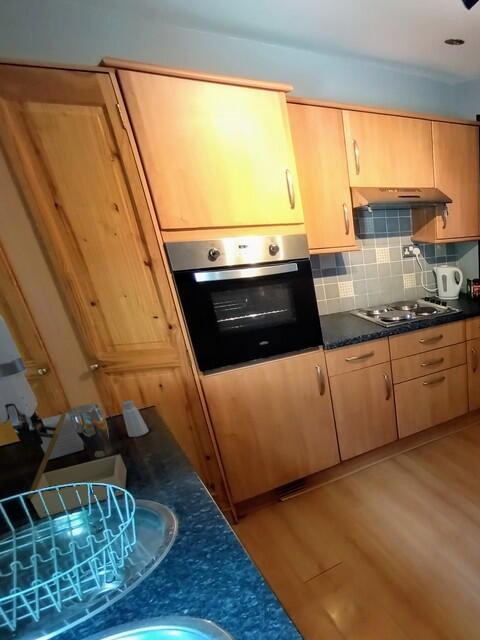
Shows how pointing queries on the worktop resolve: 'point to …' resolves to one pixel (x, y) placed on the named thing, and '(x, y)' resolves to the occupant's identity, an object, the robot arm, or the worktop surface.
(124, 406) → the pepper shaker
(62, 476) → the open cream tray
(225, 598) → the worktop surface
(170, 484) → the worktop surface
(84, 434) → the beer glass
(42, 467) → the cover
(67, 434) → the small box
